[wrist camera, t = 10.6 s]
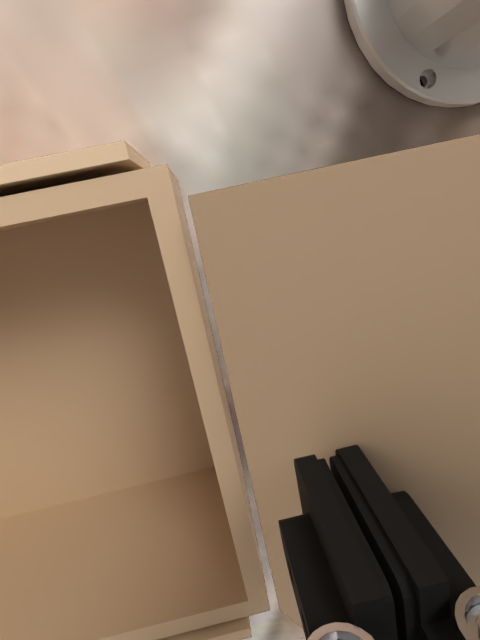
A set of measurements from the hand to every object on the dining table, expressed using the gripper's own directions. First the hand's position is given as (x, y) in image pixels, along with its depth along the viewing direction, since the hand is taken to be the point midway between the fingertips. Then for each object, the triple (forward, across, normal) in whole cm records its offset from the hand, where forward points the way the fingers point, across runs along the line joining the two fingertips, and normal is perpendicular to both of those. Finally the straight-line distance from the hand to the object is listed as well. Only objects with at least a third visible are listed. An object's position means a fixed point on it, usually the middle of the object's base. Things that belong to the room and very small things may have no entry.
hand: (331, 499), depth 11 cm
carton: (+15, +10, 0) cm, 18 cm away
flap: (+4, +2, 0) cm, 4 cm away
